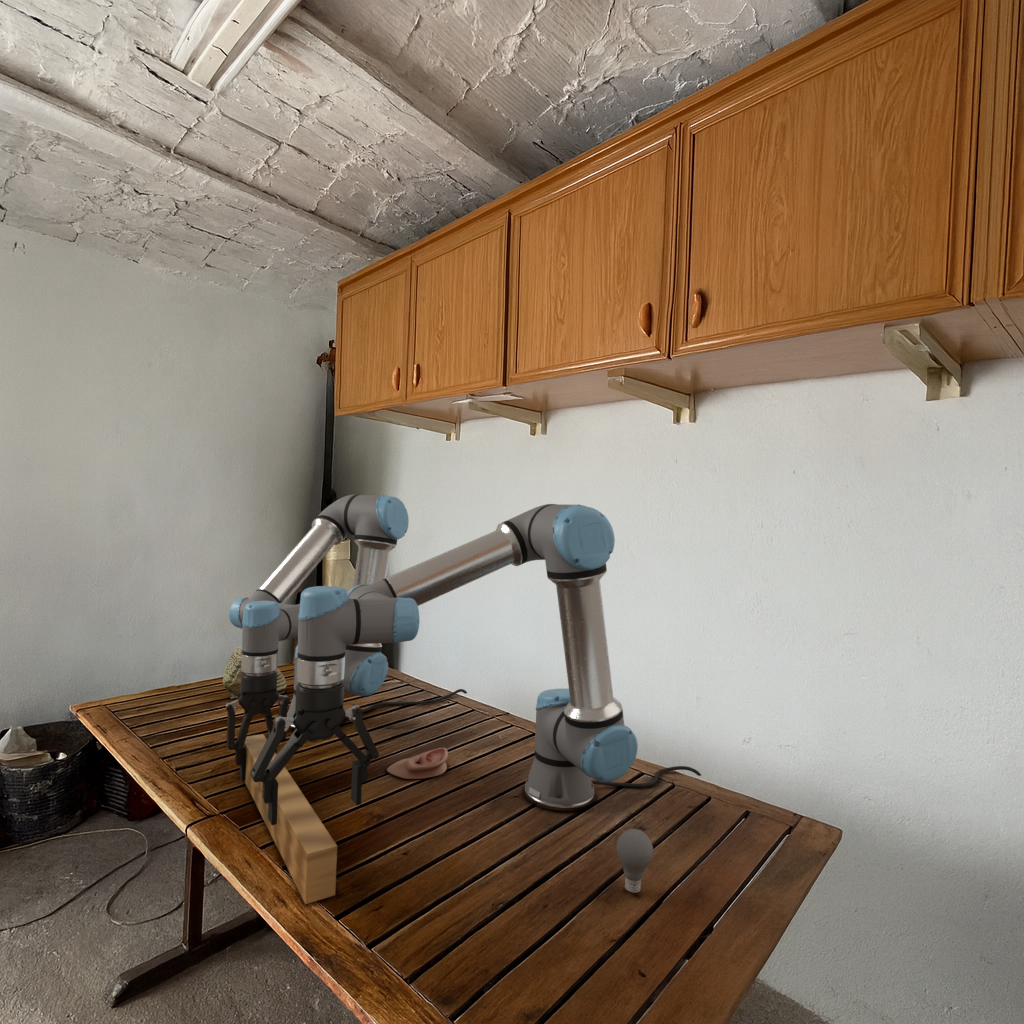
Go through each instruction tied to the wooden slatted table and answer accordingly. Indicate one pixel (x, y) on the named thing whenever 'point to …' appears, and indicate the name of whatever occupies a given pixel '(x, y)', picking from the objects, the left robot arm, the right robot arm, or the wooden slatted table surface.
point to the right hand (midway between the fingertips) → (315, 811)
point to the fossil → (234, 673)
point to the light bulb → (634, 857)
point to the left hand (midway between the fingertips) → (255, 775)
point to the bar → (296, 831)
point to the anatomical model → (421, 765)
